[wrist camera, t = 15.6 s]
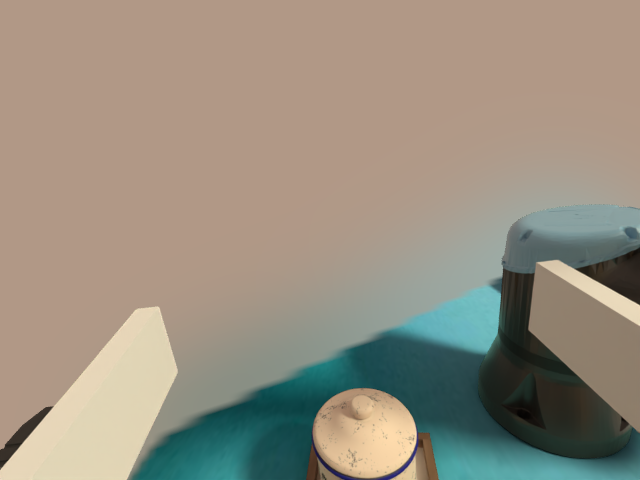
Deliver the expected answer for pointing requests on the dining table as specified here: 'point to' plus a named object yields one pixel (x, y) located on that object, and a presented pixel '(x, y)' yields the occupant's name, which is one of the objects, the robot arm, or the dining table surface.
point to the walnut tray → (424, 461)
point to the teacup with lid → (365, 437)
